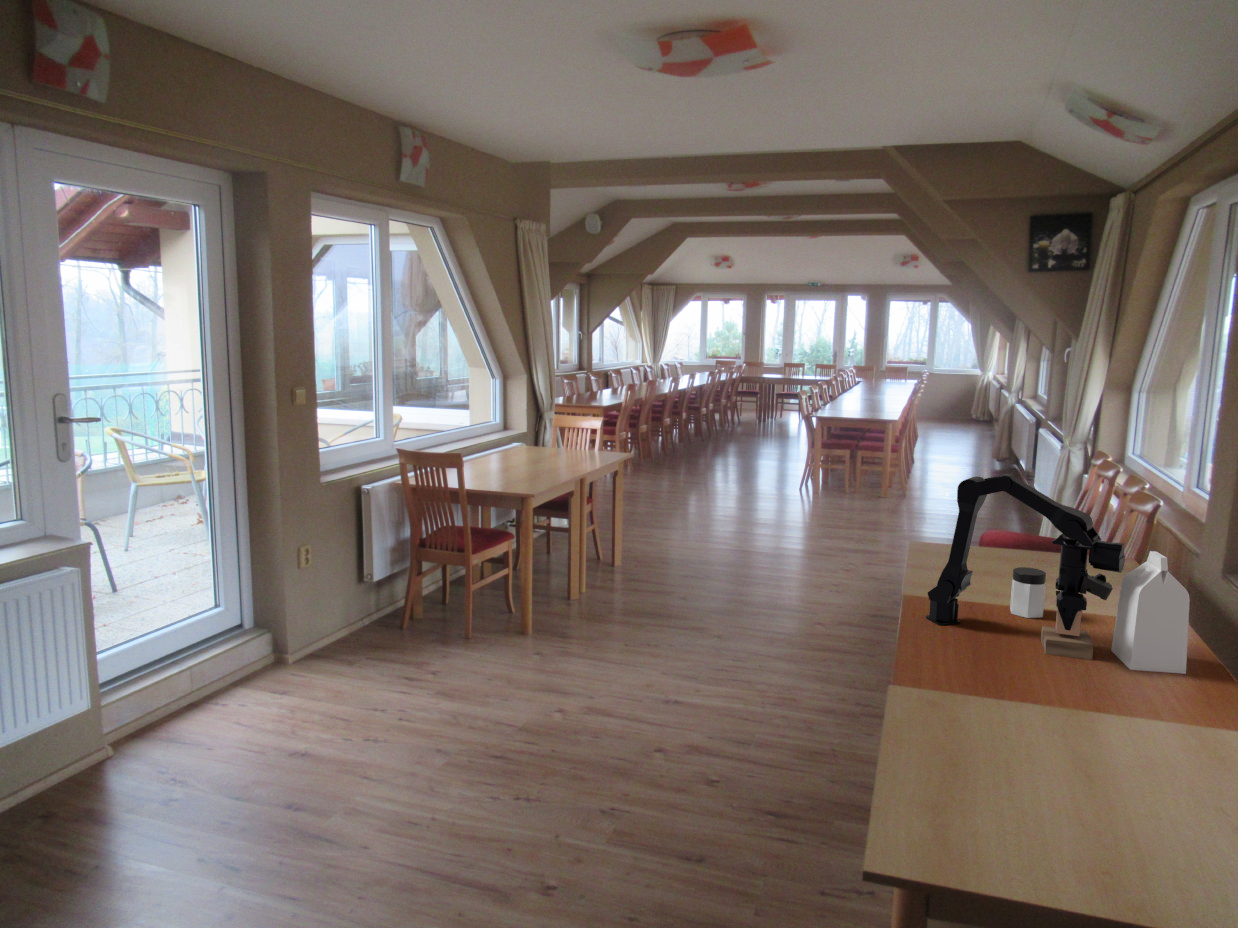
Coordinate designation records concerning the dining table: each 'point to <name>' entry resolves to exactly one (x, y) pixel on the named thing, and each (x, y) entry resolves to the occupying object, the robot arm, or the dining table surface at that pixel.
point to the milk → (1152, 619)
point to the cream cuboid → (1075, 626)
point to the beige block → (1066, 643)
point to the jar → (1028, 592)
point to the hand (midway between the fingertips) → (1067, 626)
